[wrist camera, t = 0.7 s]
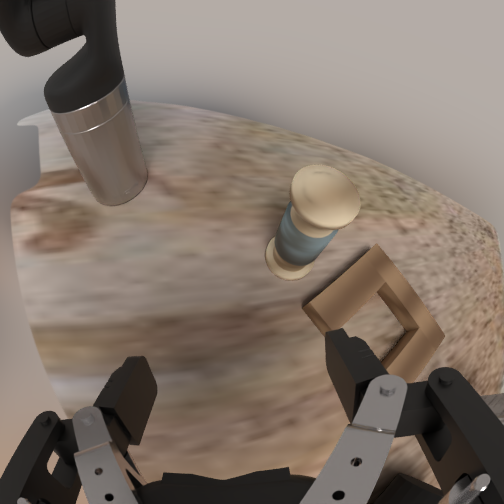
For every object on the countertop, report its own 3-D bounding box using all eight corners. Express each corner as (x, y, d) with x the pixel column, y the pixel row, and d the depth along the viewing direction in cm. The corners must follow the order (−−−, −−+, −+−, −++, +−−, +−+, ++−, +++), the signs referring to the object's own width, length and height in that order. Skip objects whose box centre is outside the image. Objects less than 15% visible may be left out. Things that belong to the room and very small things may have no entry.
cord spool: (255, 251, 34) (276, 181, 22) (291, 227, 36) (326, 156, 24) (286, 290, 33) (328, 237, 20) (321, 263, 35) (372, 203, 22)
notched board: (301, 308, 32) (309, 302, 29) (366, 252, 36) (376, 243, 34) (379, 405, 28) (392, 407, 25) (432, 339, 32) (445, 335, 29)
